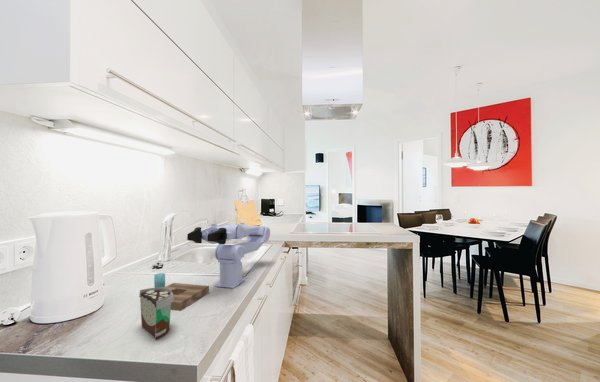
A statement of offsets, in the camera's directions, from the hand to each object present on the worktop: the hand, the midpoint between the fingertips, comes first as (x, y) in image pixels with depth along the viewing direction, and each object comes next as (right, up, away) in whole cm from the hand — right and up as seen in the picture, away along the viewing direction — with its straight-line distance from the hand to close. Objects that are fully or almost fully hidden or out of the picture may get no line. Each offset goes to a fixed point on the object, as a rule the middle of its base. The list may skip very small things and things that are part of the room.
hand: (198, 237), depth 90 cm
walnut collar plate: (-9, -22, +4) cm, 24 cm away
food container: (-4, -22, -16) cm, 28 cm away
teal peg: (-20, -22, +14) cm, 33 cm away
